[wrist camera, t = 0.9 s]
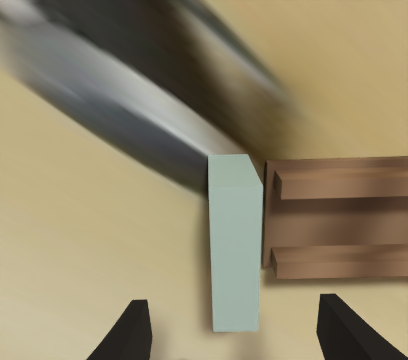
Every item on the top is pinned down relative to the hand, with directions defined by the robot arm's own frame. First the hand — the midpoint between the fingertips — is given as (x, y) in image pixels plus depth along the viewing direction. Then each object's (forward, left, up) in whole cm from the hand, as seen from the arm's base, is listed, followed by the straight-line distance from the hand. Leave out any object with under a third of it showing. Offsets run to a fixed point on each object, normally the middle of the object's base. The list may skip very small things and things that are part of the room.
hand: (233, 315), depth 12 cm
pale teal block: (0, 0, -10) cm, 10 cm away
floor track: (-5, -9, -9) cm, 14 cm away
